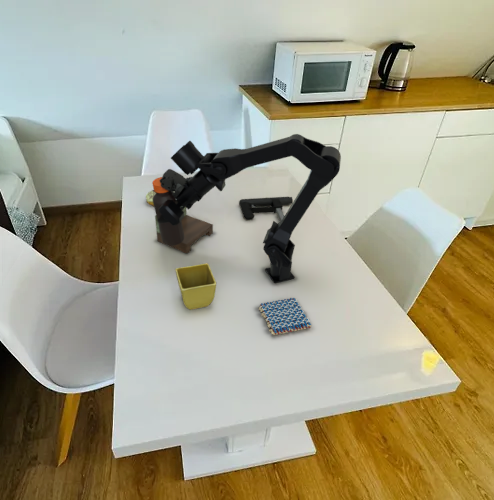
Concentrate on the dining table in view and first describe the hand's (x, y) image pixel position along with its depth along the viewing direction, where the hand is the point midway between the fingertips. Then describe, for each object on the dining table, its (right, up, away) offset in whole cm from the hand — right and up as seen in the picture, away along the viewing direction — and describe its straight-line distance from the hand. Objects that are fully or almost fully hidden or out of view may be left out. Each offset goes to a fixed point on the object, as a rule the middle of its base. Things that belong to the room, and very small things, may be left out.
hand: (163, 215), depth 112 cm
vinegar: (+2, -7, +5) cm, 9 cm away
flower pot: (+10, -24, -10) cm, 28 cm away
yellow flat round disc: (-6, +8, +35) cm, 36 cm away
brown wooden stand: (+5, -6, +15) cm, 17 cm away
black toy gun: (+34, +3, +29) cm, 44 cm away
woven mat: (+32, -27, -14) cm, 45 cm away
